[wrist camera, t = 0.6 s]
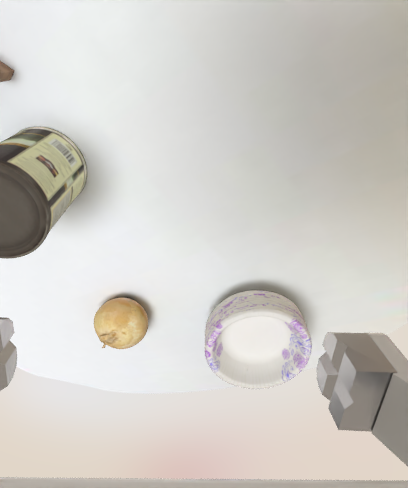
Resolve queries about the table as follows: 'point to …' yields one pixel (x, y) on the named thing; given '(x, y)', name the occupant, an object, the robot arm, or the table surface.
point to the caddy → (5, 72)
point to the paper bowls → (257, 340)
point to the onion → (121, 323)
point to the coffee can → (36, 186)
